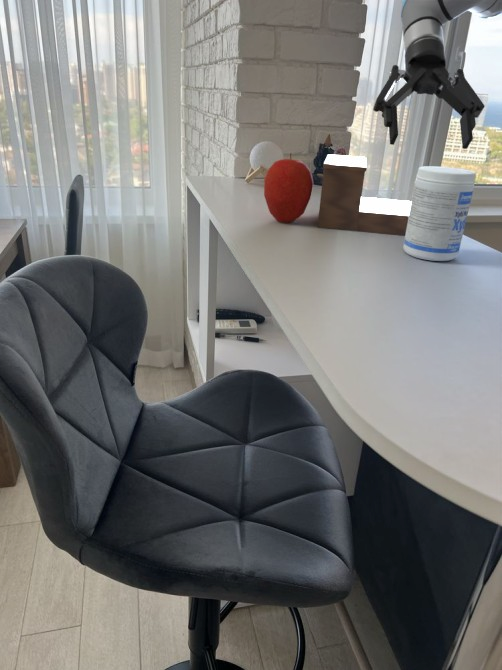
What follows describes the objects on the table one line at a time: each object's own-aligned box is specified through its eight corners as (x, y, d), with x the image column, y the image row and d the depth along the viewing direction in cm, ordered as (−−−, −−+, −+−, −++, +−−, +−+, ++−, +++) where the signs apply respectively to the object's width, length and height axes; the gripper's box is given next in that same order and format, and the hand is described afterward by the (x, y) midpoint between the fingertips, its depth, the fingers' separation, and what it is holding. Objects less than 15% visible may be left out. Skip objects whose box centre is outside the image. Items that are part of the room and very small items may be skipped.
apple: (314, 227, 104) (321, 156, 98) (266, 226, 103) (271, 154, 97) (303, 215, 113) (309, 150, 107) (259, 214, 112) (262, 148, 106)
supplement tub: (458, 266, 85) (480, 176, 79) (400, 258, 88) (417, 170, 81) (455, 250, 94) (475, 168, 87) (403, 244, 96) (418, 163, 90)
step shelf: (414, 219, 116) (425, 161, 110) (421, 237, 101) (435, 172, 96) (321, 210, 119) (327, 154, 113) (316, 227, 104) (323, 163, 99)
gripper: (478, 72, 103) (488, 158, 96) (356, 65, 103) (358, 151, 96) (496, 40, 96) (508, 131, 89) (365, 32, 96) (368, 123, 89)
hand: (430, 142), depth 93 cm, fingers open, 13 cm apart
